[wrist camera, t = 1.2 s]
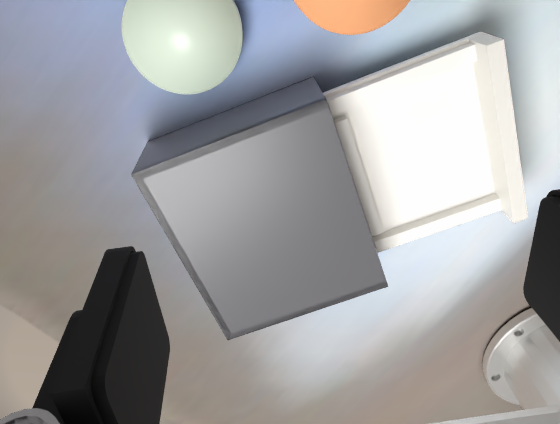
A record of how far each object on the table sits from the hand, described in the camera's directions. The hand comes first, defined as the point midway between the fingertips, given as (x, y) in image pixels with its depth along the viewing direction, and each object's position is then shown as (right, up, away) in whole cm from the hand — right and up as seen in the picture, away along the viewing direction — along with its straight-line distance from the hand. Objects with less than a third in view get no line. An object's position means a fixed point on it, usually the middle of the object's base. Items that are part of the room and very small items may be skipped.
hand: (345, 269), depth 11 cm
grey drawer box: (-3, +2, +24) cm, 24 cm away
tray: (+8, +5, +22) cm, 24 cm away
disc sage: (-7, +13, +19) cm, 24 cm away
